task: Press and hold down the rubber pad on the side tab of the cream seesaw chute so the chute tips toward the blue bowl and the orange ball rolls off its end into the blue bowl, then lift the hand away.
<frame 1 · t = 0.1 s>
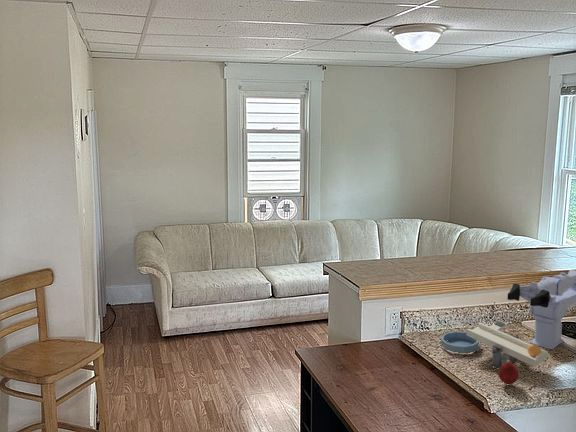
hand: (519, 299, 182), 22 cm above the table, tool horizontal, fingers open, 7 cm apart
stand: (505, 361, 187), on the table
onion: (508, 385, 173), on the table
ball: (533, 350, 179), point 7 cm above the table, tilted 21°, touching lever
blue bowl: (459, 346, 200), on the table
lever: (512, 338, 189), point 7 cm above the table, hinge at -8.0°, touching ball
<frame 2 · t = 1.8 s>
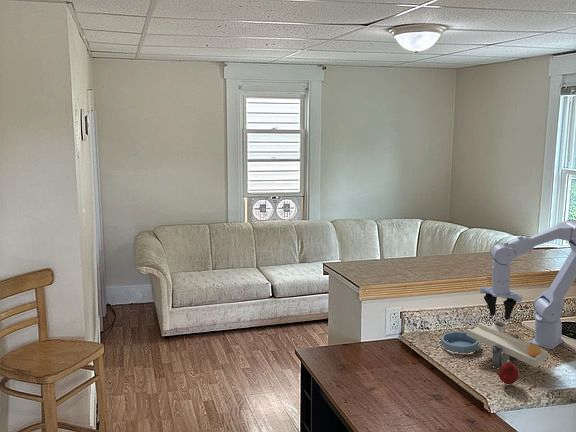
hand: (500, 316, 197), 10 cm above the table, tool pointing down, fingers open, 5 cm apart
nothing on the table moved.
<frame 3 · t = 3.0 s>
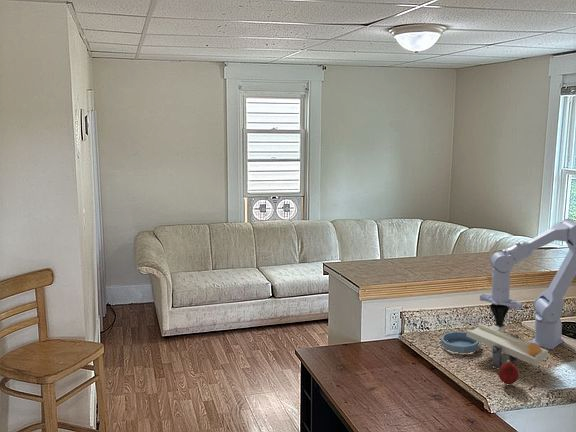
hand: (499, 324, 198), 8 cm above the table, tool pointing down, fingers closed, pressing on lever
lever: (512, 338, 189), point 7 cm above the table, hinge at -6.2°, touching ball, gripper
everything else where it was.
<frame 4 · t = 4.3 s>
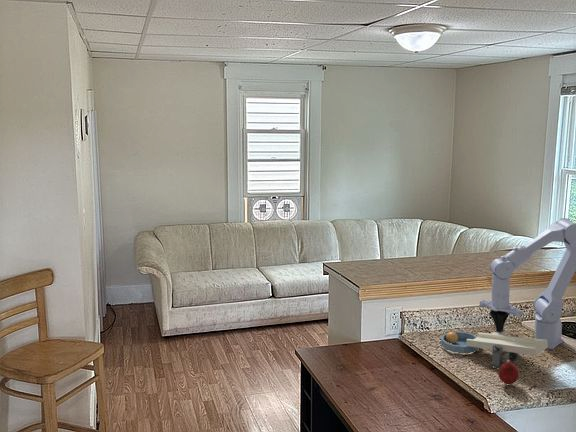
hand: (499, 330, 199), 5 cm above the table, tool pointing down, fingers closed, pressing on lever
ball: (452, 337, 202), point 2 cm above the table, tilted 174°, touching blue bowl
lever: (512, 338, 189), point 7 cm above the table, hinge at 10.2°, touching gripper
everything else where it was.
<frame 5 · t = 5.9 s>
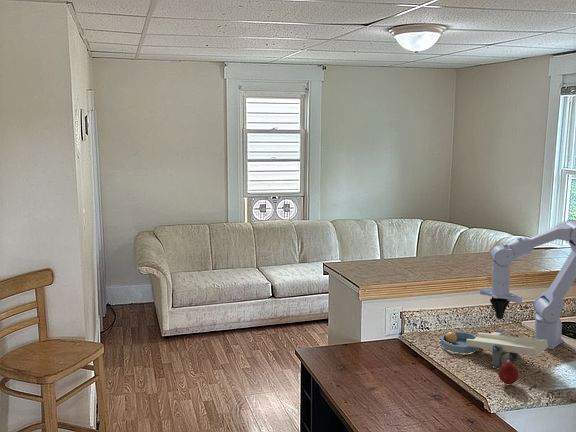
hand: (499, 318, 198), 10 cm above the table, tool pointing down, fingers closed
lever: (512, 338, 189), point 7 cm above the table, hinge at 10.1°
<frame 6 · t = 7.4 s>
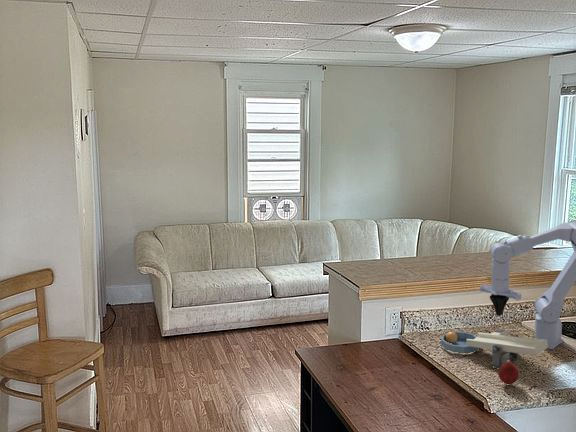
hand: (499, 314, 199), 10 cm above the table, tool pointing down, fingers closed
nothing on the table moved.
at the end: ball inside the target area on the blue bowl (3.4 cm from its centre), point 2.5 cm above the blue bowl's base; lever at +10° (first picture: -8°) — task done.
